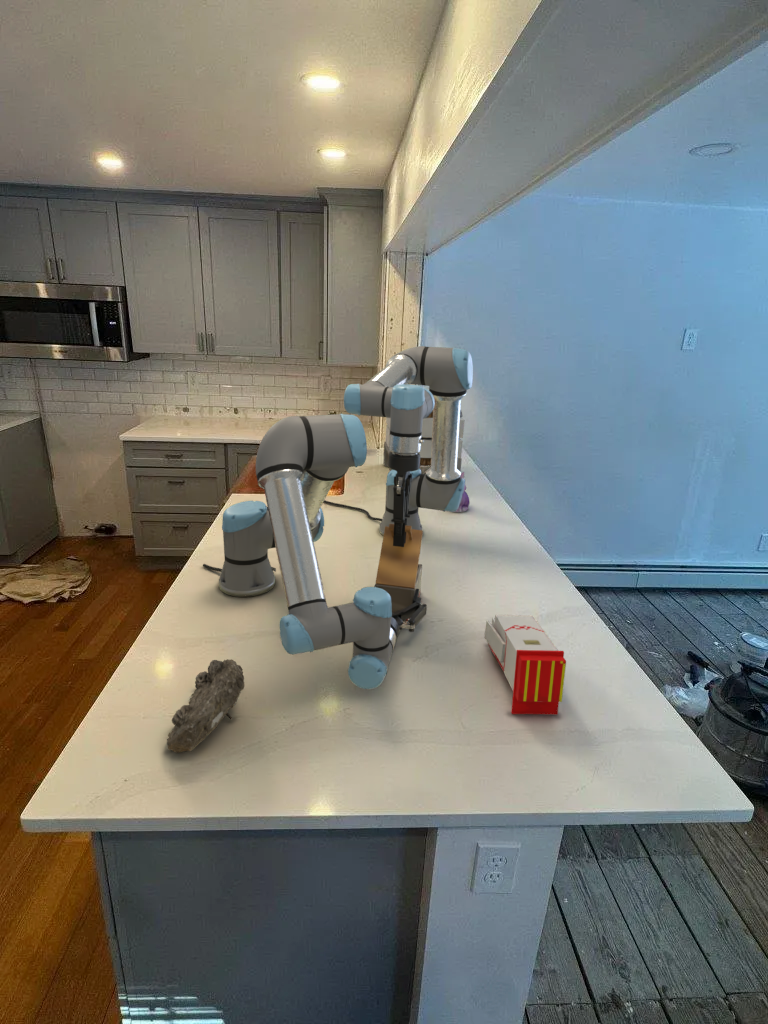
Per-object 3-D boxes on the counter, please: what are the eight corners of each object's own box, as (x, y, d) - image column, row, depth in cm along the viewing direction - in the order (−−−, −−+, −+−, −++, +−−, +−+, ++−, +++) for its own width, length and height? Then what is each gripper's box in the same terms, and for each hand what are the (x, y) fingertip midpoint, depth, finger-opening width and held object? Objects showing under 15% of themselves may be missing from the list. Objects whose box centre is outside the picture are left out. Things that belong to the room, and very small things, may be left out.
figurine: (456, 514, 221) (459, 477, 216) (441, 506, 229) (444, 470, 224) (475, 511, 225) (479, 475, 220) (461, 503, 234) (464, 468, 229)
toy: (530, 600, 137) (574, 657, 108) (525, 651, 140) (567, 720, 111) (480, 599, 137) (511, 656, 107) (477, 651, 139) (506, 719, 110)
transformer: (382, 463, 289) (386, 382, 275) (445, 464, 293) (451, 384, 279) (390, 482, 257) (394, 392, 243) (460, 483, 261) (468, 394, 247)
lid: (385, 527, 149) (381, 514, 141) (423, 531, 147) (421, 519, 140) (375, 584, 143) (371, 574, 135) (414, 589, 141) (412, 579, 134)
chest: (385, 588, 160) (386, 560, 157) (420, 592, 158) (422, 564, 155) (374, 616, 146) (375, 585, 143) (412, 621, 144) (414, 590, 141)
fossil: (192, 660, 117) (244, 628, 112) (224, 691, 120) (276, 661, 115) (142, 746, 98) (202, 712, 93) (182, 779, 101) (242, 748, 96)
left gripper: (331, 643, 129) (354, 598, 150) (429, 657, 125) (439, 609, 146) (331, 614, 127) (354, 572, 147) (431, 628, 123) (441, 583, 144)
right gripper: (416, 461, 126) (409, 557, 134) (424, 446, 140) (418, 535, 148) (383, 458, 127) (378, 553, 135) (394, 444, 141) (389, 532, 149)
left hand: (396, 590), depth 147 cm, fingers closed on chest, 10 cm apart
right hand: (399, 544), depth 141 cm, fingers closed on lid, 2 cm apart
